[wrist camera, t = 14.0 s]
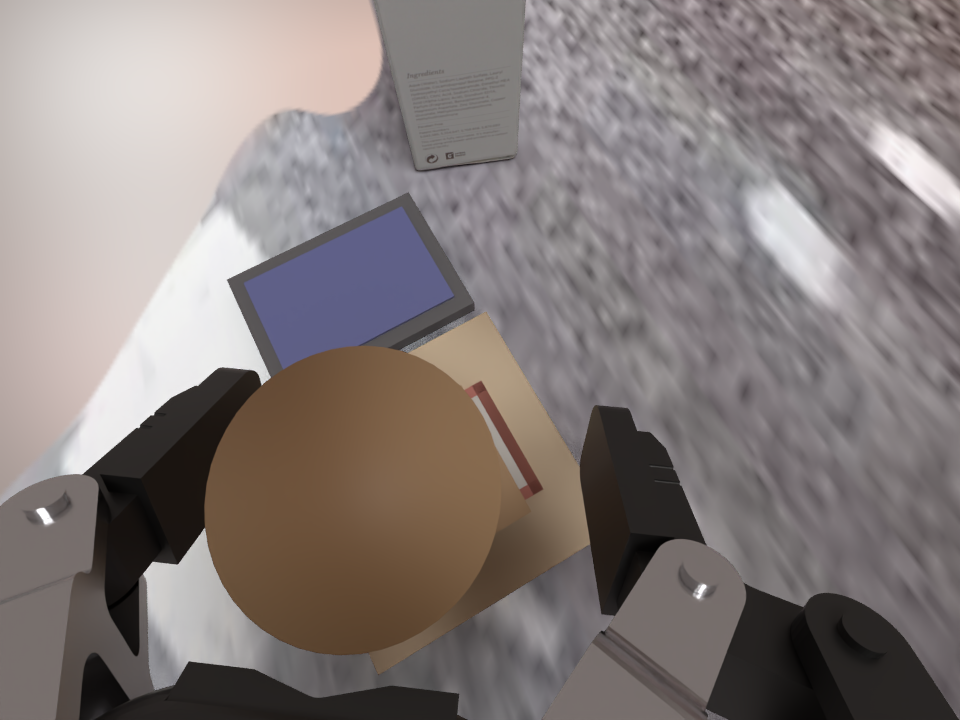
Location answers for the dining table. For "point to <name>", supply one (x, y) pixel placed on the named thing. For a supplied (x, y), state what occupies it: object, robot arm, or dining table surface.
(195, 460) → the robot arm
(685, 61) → the dining table surface
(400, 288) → the ink pad
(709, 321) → the dining table surface
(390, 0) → the skincare box
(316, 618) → the stamp
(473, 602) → the parcel
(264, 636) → the dining table surface
